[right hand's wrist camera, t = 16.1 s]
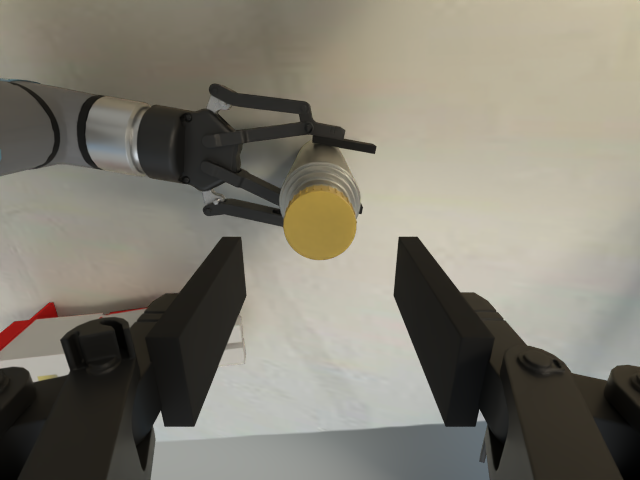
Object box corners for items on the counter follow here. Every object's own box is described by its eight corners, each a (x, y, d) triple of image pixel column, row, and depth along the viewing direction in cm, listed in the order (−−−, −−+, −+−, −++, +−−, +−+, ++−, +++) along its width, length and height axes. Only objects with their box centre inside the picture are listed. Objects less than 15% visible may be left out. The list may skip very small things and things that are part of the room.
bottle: (300, 135, 42) (274, 167, 18) (346, 142, 42) (379, 182, 19) (294, 181, 44) (265, 263, 20) (338, 188, 44) (360, 275, 21)
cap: (289, 179, 20) (286, 185, 18) (360, 189, 20) (363, 196, 18) (281, 245, 21) (278, 256, 20) (348, 254, 21) (350, 265, 20)
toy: (245, 404, 44) (-11, 438, 41) (250, 340, 57) (55, 362, 53) (233, 325, 40) (-53, 355, 36) (242, 275, 52) (29, 294, 49)
